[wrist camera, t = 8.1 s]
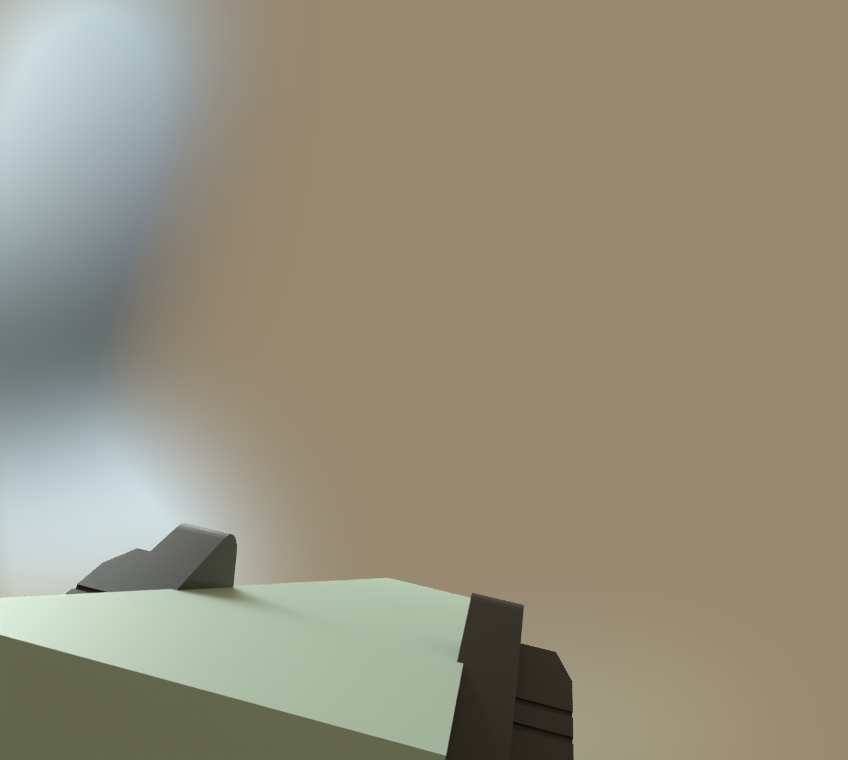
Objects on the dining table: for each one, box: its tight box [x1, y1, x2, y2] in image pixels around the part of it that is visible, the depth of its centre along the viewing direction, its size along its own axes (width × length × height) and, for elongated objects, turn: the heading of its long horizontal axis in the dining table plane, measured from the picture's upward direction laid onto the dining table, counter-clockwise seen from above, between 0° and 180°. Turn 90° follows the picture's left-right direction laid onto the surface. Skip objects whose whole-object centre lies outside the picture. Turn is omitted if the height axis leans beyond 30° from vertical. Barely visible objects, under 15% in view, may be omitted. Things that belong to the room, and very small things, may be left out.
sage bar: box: [0, 578, 471, 760], centre depth 17 cm, size 4×26×3 cm, turn 176°
